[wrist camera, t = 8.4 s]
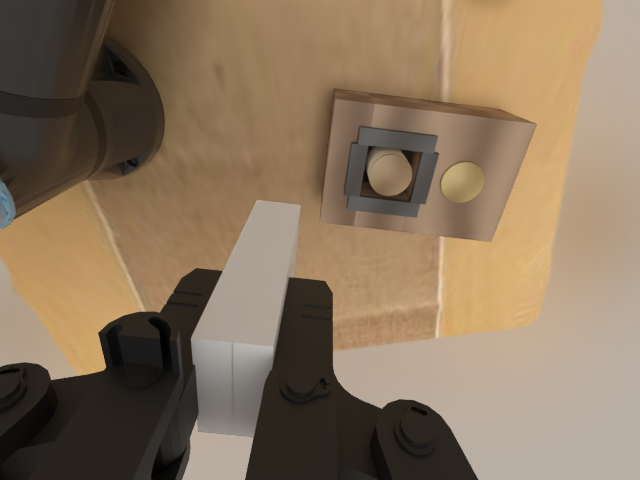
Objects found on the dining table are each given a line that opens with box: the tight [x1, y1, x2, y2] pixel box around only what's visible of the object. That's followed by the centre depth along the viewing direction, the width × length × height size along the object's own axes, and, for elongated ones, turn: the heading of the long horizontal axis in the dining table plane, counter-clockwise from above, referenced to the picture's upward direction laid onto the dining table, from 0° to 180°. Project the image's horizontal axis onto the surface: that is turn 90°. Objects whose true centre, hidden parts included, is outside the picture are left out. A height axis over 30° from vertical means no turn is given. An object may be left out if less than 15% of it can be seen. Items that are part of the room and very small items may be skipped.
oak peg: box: [365, 146, 412, 196], centre depth 37 cm, size 4×4×8 cm
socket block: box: [320, 89, 537, 242], centre depth 38 cm, size 18×12×9 cm, turn 84°
